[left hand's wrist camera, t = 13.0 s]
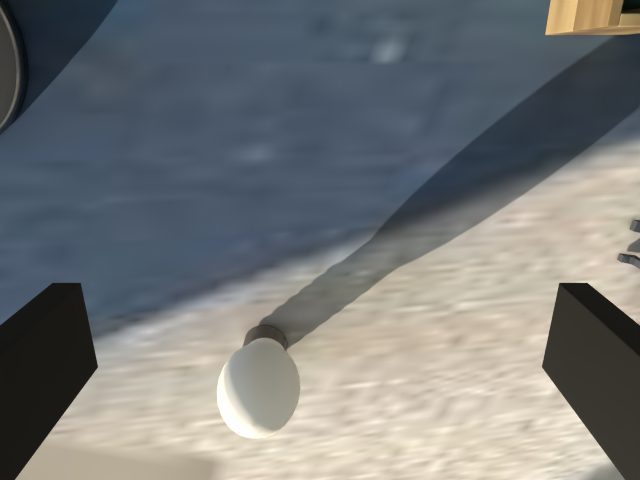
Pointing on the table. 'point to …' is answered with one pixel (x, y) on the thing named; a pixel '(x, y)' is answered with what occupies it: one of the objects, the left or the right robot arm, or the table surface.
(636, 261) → the toy
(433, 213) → the table surface
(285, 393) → the light bulb
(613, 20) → the peg board
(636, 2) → the peg
